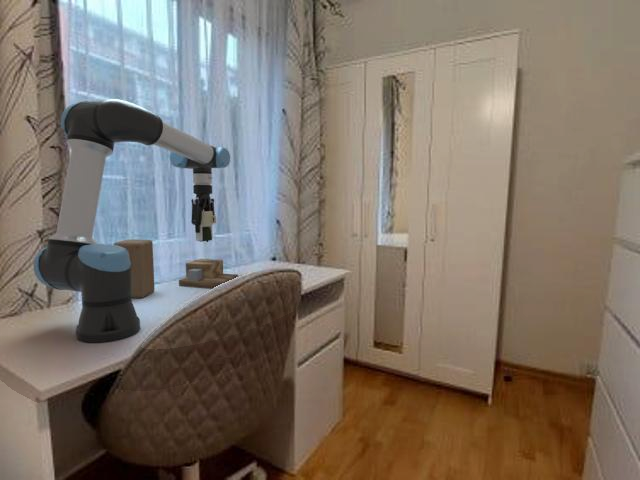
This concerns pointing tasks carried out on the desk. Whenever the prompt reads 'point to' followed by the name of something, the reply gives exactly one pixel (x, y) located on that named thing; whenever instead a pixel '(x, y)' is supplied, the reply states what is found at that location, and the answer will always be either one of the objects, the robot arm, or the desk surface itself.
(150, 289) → the wooden block
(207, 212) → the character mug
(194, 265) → the walnut stand
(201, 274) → the grey cube
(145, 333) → the desk surface
